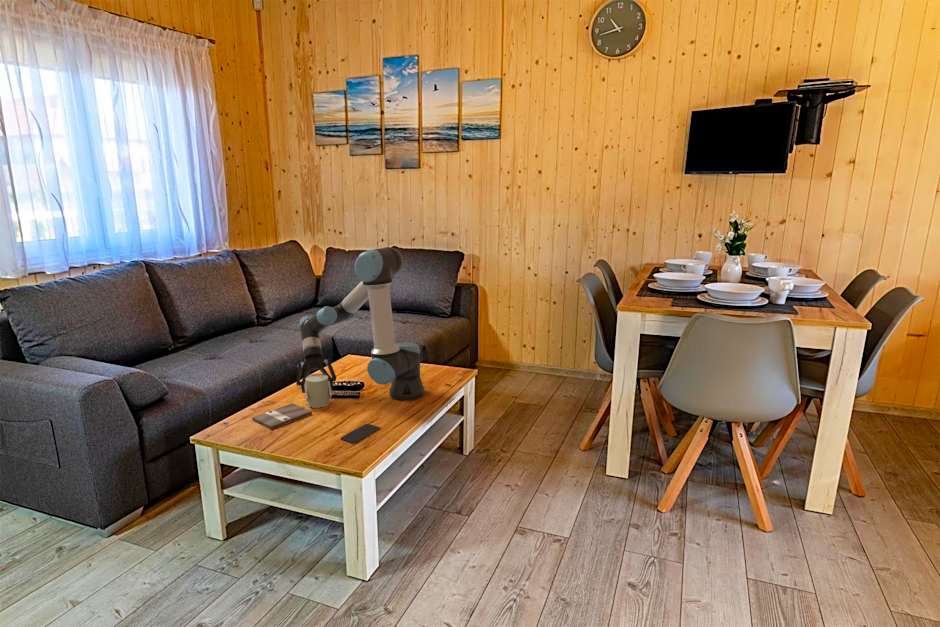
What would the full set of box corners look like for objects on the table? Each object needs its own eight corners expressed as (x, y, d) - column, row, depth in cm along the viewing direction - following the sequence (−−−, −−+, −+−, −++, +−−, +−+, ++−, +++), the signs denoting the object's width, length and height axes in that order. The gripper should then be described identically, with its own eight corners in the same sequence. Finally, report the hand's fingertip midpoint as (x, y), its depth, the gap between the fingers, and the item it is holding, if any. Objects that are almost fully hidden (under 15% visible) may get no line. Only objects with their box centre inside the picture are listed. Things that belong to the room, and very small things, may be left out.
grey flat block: (311, 414, 222) (311, 410, 221) (271, 429, 208) (271, 425, 208) (292, 405, 230) (292, 402, 229) (252, 420, 216) (252, 416, 216)
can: (323, 409, 226) (322, 381, 224) (303, 407, 228) (300, 379, 225) (333, 400, 235) (332, 373, 232) (313, 398, 237) (311, 372, 234)
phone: (381, 427, 210) (354, 443, 197) (381, 429, 210) (354, 445, 197) (366, 423, 213) (339, 438, 201) (366, 425, 213) (339, 440, 201)
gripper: (337, 351, 245) (344, 398, 235) (286, 356, 238) (291, 405, 227) (338, 343, 239) (346, 390, 229) (285, 348, 232) (291, 398, 221)
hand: (318, 398), depth 228 cm, fingers closed on can, 9 cm apart
